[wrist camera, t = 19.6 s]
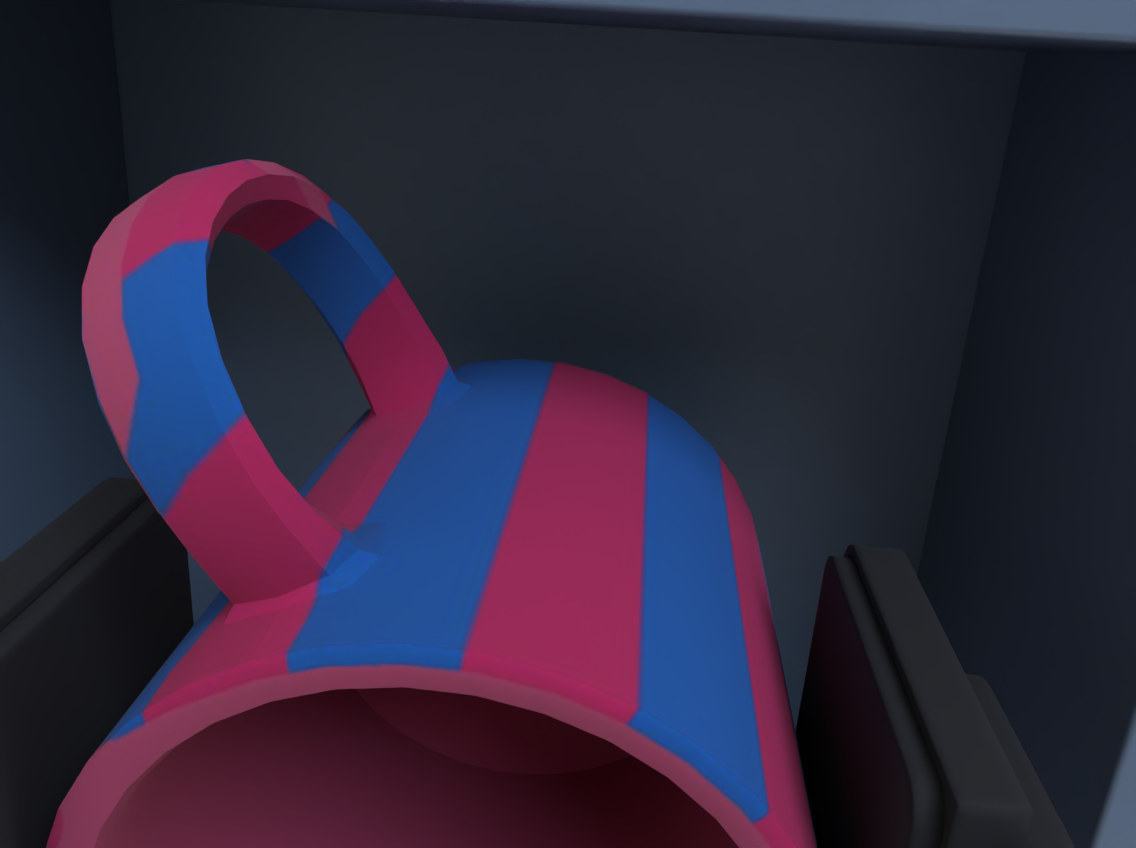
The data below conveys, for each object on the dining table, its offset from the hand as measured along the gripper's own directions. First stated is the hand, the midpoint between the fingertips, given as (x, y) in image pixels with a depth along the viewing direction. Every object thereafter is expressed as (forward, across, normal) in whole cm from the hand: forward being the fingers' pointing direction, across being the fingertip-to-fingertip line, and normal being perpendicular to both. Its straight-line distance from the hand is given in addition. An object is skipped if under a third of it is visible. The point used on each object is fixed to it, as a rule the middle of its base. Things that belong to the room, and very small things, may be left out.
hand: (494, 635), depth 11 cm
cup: (+4, 0, 0) cm, 4 cm away
